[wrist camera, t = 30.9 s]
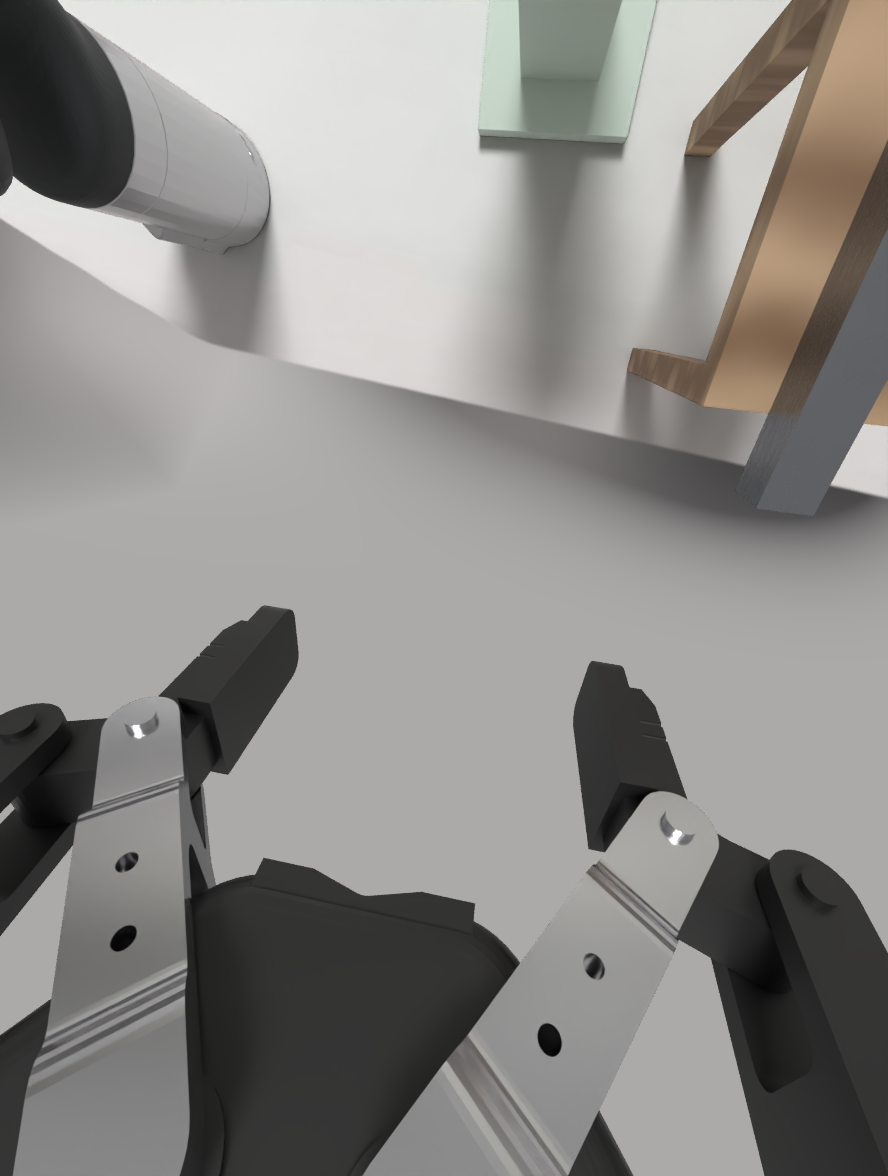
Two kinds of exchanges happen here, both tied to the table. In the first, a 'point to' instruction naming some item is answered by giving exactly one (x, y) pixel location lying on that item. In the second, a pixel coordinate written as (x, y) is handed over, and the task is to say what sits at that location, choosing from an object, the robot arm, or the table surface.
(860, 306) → the bar
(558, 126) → the tall pedestal
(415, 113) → the table surface
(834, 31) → the low stand
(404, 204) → the table surface
